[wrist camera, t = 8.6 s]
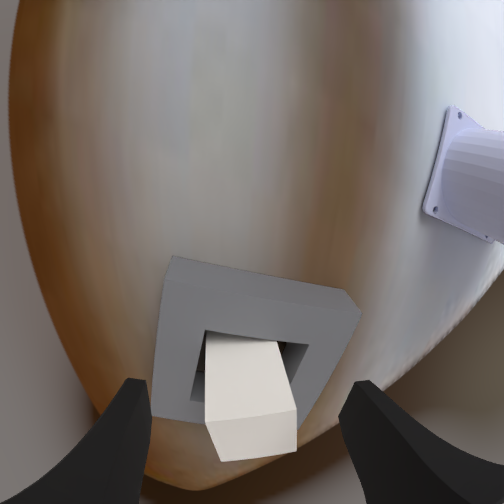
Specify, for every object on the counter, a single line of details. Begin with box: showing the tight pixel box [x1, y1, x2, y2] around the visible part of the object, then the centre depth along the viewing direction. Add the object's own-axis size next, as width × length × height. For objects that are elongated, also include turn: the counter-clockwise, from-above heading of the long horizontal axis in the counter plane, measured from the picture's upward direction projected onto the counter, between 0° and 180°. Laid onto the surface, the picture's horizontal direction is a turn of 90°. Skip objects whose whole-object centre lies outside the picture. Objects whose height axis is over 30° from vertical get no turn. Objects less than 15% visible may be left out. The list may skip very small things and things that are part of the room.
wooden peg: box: [205, 330, 297, 462], centre depth 16 cm, size 4×4×8 cm
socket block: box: [151, 256, 362, 430], centre depth 18 cm, size 11×11×3 cm
